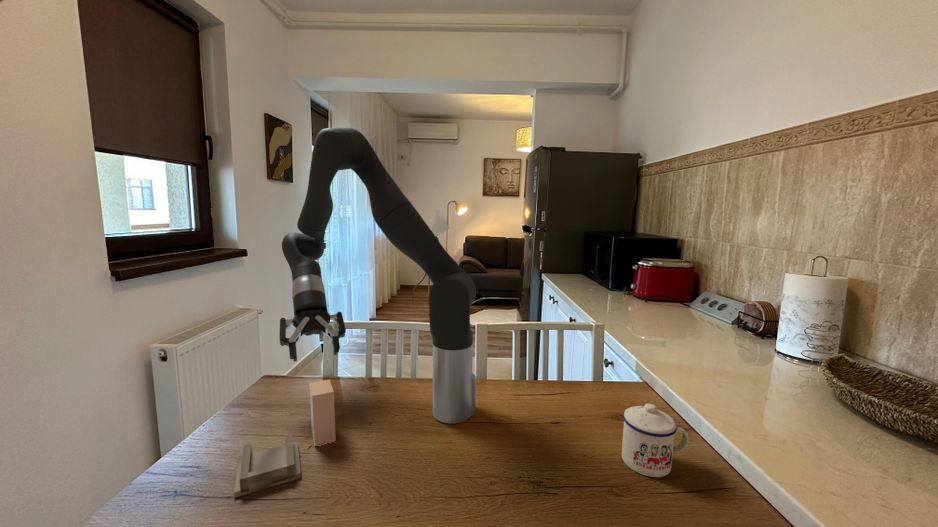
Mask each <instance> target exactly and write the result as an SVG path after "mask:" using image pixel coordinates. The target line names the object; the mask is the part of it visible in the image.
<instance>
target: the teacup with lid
mask: <svg viewBox="0 0 938 527" xmlns="http://www.w3.org/2000/svg"><path fill="white" fill-rule="evenodd" d="M622 418H623V430H622V444H621V458H622V461H623V462H624V463H625V465H626V466H627V467H628V468H629V469H631V470H633V471H634V472H636V473H637V474H640V475H643V476H647V477H650V478H651V477H652V478H662V477H665V476H667V475H669V474H670V473H671V470H672V463H673V456H674V455H673V454H678V453H682V452H683V451H684V450H685V449H686V448H687V446H688V444H689V441H690V436H689V434H688V433H687V431H686V430H685V429H684V428H683V427H682V428H681V427H677V425H676V421H675V420H674V419H673V418H672V416H670V415H669V414H667V413H665V412H664V411H662V410H660V409H658V408H657V406H655V405H654V404H652V403H645V404H644V405H635V406H631V407H630V406H629V407H628V408H626V409H625V411H624V412H623V415H622ZM675 434H681V435H682V440H681V442H680V443H679V444H677V445H676V446H674V443H675Z"/></svg>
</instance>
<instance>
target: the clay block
mask: <svg viewBox="0 0 938 527" xmlns="http://www.w3.org/2000/svg"><path fill="white" fill-rule="evenodd" d="M334 393H335V391H334V388H333V385H332V383H331V379H325V380H320V381H319V380H318V381H315V382H309V399H310V400H309V401H310V416H311V417H310V418H311V432H312V433H311V434H313V435H312V439H313V446H314V445H315V446H318V445H323V444H325V443H329V442H334V441H336V439H337V438H336V436H337V435H336V417H335V416H336V414H335V413H336V412H335V411H336V410H335V394H334ZM336 442H337V441H336ZM334 443H335V442H334ZM315 446H314V447H315ZM323 446H324V445H323Z"/></svg>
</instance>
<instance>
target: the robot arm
mask: <svg viewBox="0 0 938 527" xmlns="http://www.w3.org/2000/svg"><path fill="white" fill-rule="evenodd" d="M345 170H352V171H353V172H354V173H355V174H356V175H357V177H358V178H359V180H361V181H362V183H363V184H364V186H365V188H366V190H367V194H368V197H369V206H370V210H371V215H372V217H373V220H374V222H375V224H376V225H377V226H378V228H379V229H380V230H381V231H382V234H384V236H385V237H386V239H387V240H388V241H389V242H390V243H391V244H392V245H393V246H394V247H395V248H396V249H398V250H399V252H401V253H403V255H405V256H406V257H408V258H409V259H410V260H412V261H413V262H414V263H416V265H418V266H419V268H421V270H422V271H424V273H425V274H426V276H427V277H428V278H429V280H430V281H431V283H432V285H431V287H430V289H429V290H430V291H429V294H428V295H429V296H428V315H429V316H428V317H429V319H428V320H429V332H430V334H431V337H432V416H433V417H434V419H436V420H437V421H438V422H441V423H445V424H460V423H463V422H465V421H467V420H469V419H470V418H471V417H472V416H474V415H475V414H476V391H477V390H476V382H477V380H476V378H477V377H476V374H474V373H473V360H474V359H473V356H474V354H473V352H474V351H473V350H474V333H473V331H472V330H471V312H470V311H471V306H472V304H474V302H475V300H476V297H477V288H476V285H475V282H474V281H473V279H472V278H471V277H470V276H469V274H468V273H467V272H466V271H465V270H464V269H463V268H462V267H461V266H460V265H459V263H457V262H456V261H455V260H454V259H453V257H452V256H451V255H450V254H449V253H448V252H447V251H446V249H445V248H444V247H443V245H442V244H441V242H440V241H439V240H438V238H437V236H436V235H435V233H433V231H432V229H431V228H430V226H428V224H427V223H426V221H425V220H424V218H423V217H422V216H421V214H420V213H419V211H418V210H417V208H416V207H415V206H414V205H413V204H412V203H411V201H410V200H409V199H408V197H407V196H406V195H405V193H403V192H402V190H401V187H399V186H398V184H397V183H396V181H395V180H394V178H392V176H391V175H390V173H389V171H387V169H386V167H385V166H384V165H383V163H382V161H381V160H380V158H379V156H378V155H377V153H376V152H375V150H374V148H373V147H372V145H371V144H370V142H369V140H368V139H367V137H366V136H365V135H364V134H363V133H362V132H361V131H360V130H358V129H356V128H352V127H327V128H322V129H321V130H320V131H319V132H318V133H317V135H316V137H315V139H314V144H313V149H312V153H311V161H310V167H309V174H308V175H309V176H308V183H307V189H306V190H307V191H306V195H305V199H304V203H303V205H302V208H301V211H300V214H299V216H298V220H297V223H296V224H297V226H296V227H297V229H298V230H299V232H289V233H287V234H286V235H284V237H283V238H282V241H281V250H282V254H283V256H284V258H285V260H286V262H287V265H288V266H289V269H290V271H291V279H292V288H291V289H292V290H291V291H292V292H291V293H292V294H291V295H292V304H293V305H292V306H293V318H292V319H286V318H285V317H281V318H280V319H279V345H280V346H281V347H284V346H287V347H288V352H289V358H290V360H293V361H292V362H297V361H298V356H297V343H298V341H300V340H301V338H302V337H303V336H307V337H308V336H312V335H321V334H324V335H325V336H326V337H328V338H330V340H331V345H332V352H333V356H338V353H339V352H340V349H341V346H340V344H341V343H340V339H342V338H345V336H346V332H347V330H346V325H345V322H344V317H343V313H342V312H341V311H337V313H334V314H330V313H329V311H328V305H327V298H326V291H325V285H324V282H323V278H322V270H321V266H320V262H318V260H319V259H321V258H322V257H323V255H324V253H325V235H326V230H327V227H328V224H329V223H330V219H331V217H332V214H333V210H334V202H333V197H332V194H331V193H332V192H331V185H332V183H333V180H334V178H335V176H336V174H338V172H339V171H345ZM331 321H333V323H334V324H336V326H337V329H338V331H337V330H335V329H334V328H333V326H332V325H331V324H330V322H331ZM291 326H292V327H295V330H294V331H293V333H292V335H291V336H290V337H287V330H289V329H290V327H291Z"/></svg>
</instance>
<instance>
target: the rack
mask: <svg viewBox="0 0 938 527" xmlns="http://www.w3.org/2000/svg"><path fill="white" fill-rule="evenodd" d="M284 438H285V444H282V445H278V446H275V447H272V448H271V447H270V448H267V449H263V450H259V451H255V452H253V451H252V450H253V449H252V443H248V444H244V445H243V448H242V455H240V456H239V455H238V461H237V467H236V469H237V470H236V476H235V482H234V483H235V484H234V490H233V494H234V495H233V496H234V498H238V497H239V498H240V497H241V496H247V495H249V494H252V493H256V492H259V491H262V490H265V489H269V488H271V487H272V488H273V487H275V486H280V485H282V484H285V483H286V484H287V483H289V482H292V481H297V480H299V479H302V472H301V463H300V461H301V460H300V453H299V443H298V441H294V440H293V433H289V434H285V436H284Z"/></svg>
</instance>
